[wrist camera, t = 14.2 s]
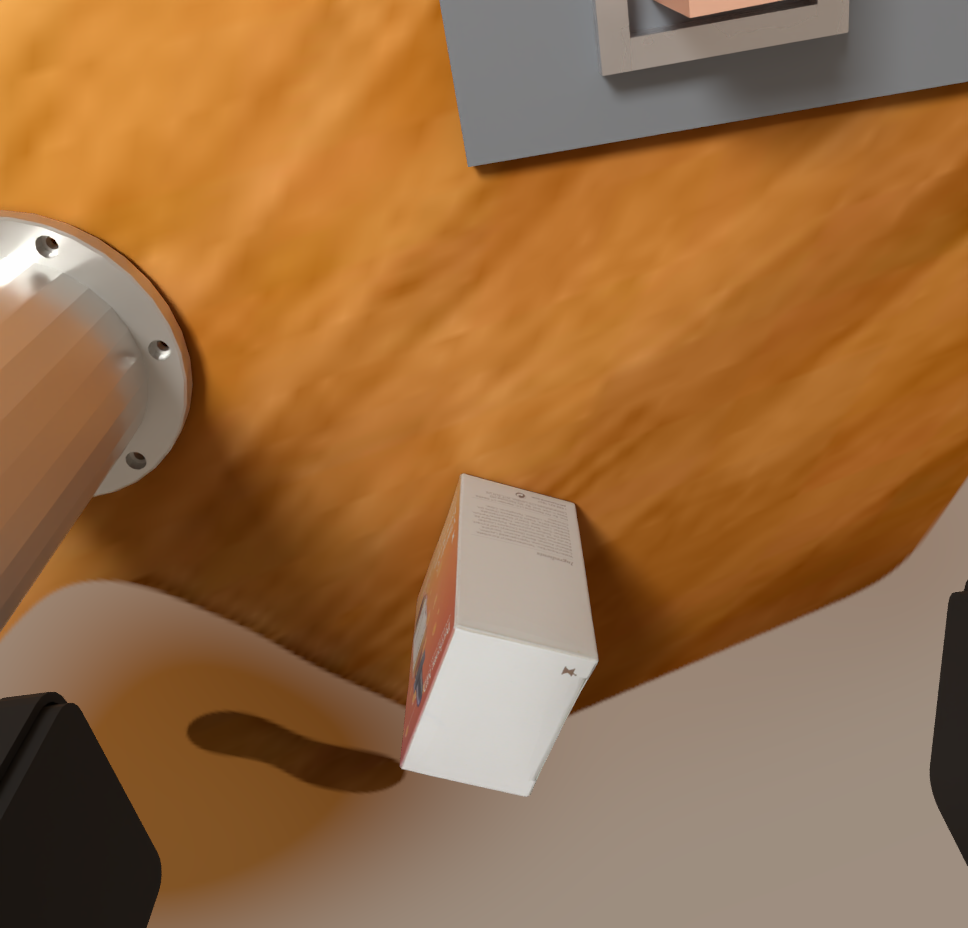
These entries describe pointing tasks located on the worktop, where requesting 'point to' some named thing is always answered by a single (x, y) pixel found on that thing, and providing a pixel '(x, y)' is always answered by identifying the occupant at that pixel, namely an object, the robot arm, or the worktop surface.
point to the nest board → (680, 65)
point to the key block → (708, 6)
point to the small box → (498, 639)
